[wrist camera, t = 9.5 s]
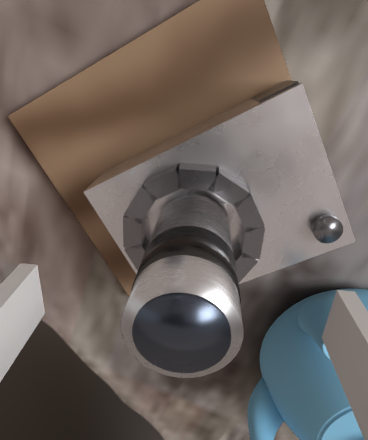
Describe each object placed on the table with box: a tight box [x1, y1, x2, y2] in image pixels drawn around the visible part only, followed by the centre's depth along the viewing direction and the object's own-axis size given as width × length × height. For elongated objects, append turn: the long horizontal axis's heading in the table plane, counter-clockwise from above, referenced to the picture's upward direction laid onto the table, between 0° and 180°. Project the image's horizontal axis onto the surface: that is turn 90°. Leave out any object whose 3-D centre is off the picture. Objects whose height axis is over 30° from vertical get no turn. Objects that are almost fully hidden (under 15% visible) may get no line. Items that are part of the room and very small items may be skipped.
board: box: [8, 0, 292, 297], centre depth 27 cm, size 19×20×1 cm
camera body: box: [84, 80, 356, 284], centre depth 24 cm, size 11×15×6 cm
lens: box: [121, 195, 244, 378], centre depth 18 cm, size 5×5×10 cm
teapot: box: [248, 288, 368, 440], centre depth 28 cm, size 17×19×12 cm
